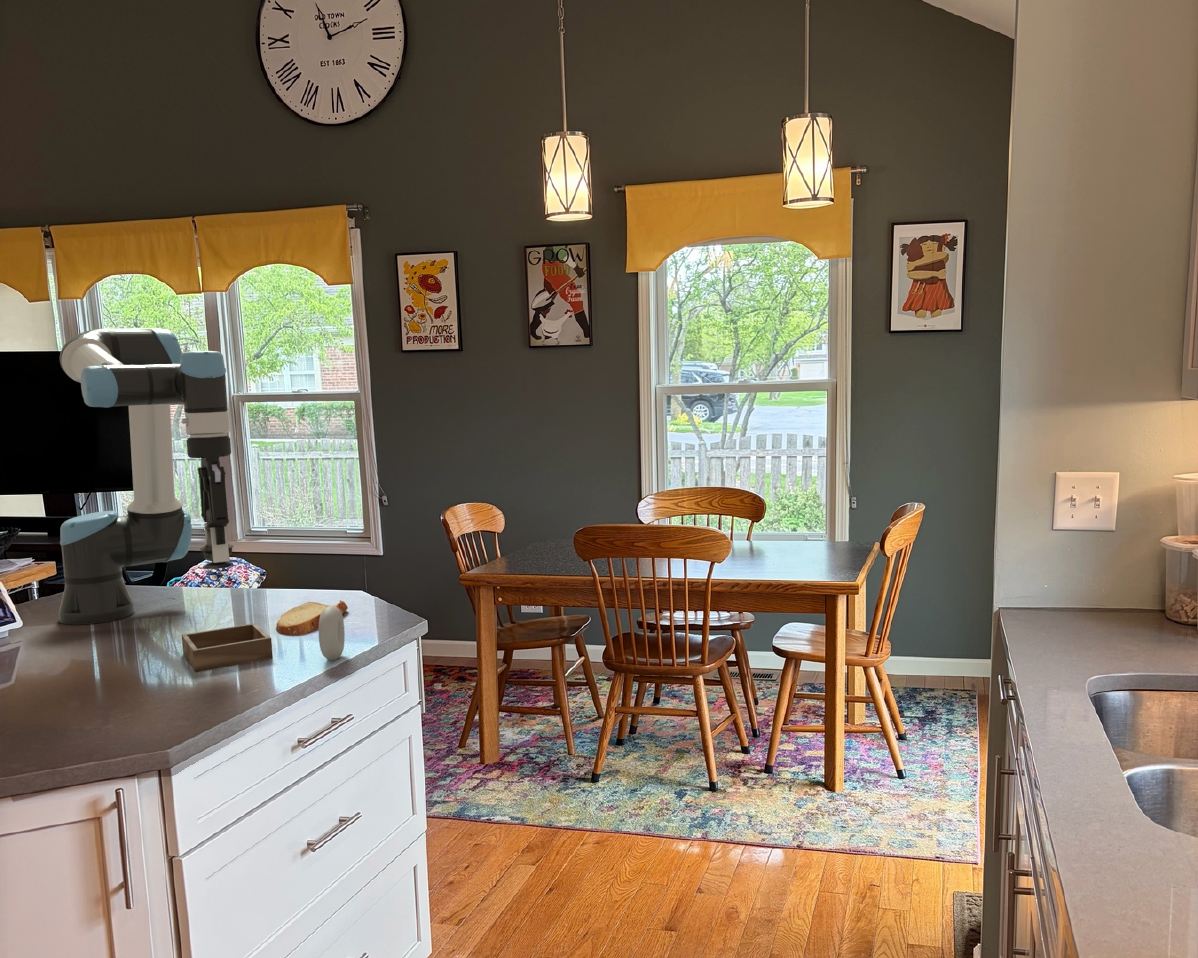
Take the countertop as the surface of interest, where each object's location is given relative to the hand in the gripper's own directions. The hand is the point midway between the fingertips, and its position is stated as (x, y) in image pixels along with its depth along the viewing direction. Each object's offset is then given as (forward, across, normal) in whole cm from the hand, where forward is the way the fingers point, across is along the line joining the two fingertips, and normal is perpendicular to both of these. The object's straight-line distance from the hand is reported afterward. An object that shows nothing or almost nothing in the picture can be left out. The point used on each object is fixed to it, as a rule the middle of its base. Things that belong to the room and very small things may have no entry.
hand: (217, 558), depth 181 cm
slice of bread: (+20, -17, +21) cm, 33 cm away
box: (+19, 0, 0) cm, 19 cm away
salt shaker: (+2, 0, 0) cm, 2 cm away
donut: (+19, +14, +16) cm, 29 cm away
